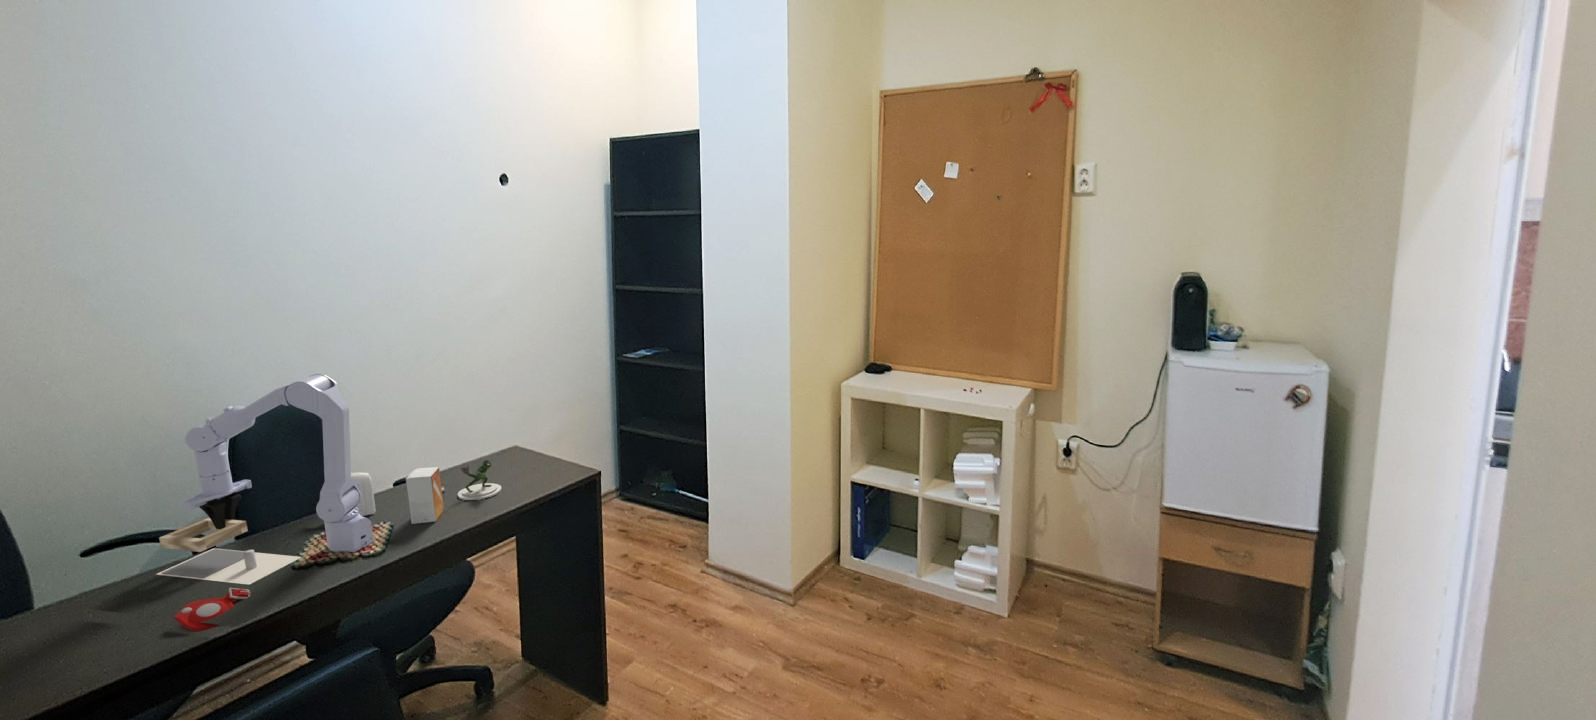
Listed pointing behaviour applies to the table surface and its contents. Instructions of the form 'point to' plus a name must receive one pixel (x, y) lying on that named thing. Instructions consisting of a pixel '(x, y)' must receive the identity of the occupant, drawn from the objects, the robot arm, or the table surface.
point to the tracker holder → (208, 610)
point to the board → (230, 566)
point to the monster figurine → (479, 489)
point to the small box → (425, 495)
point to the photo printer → (365, 493)
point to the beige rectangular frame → (186, 542)
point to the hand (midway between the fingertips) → (224, 526)
